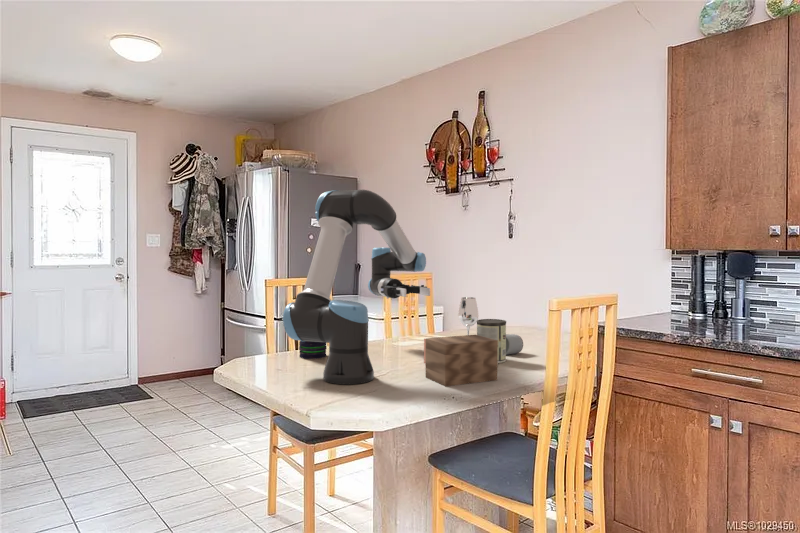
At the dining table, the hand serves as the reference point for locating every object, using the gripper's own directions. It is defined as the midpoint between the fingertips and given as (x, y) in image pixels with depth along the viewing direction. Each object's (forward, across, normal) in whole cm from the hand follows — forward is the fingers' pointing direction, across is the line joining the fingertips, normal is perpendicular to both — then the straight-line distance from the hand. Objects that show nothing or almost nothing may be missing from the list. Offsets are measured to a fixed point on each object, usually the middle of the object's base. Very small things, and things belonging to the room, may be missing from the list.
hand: (417, 292), depth 193 cm
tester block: (+29, 0, -24) cm, 38 cm away
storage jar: (-23, +31, -24) cm, 45 cm away
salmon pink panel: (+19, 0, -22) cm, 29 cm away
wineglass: (-13, -29, -24) cm, 40 cm away
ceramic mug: (+2, -37, -24) cm, 44 cm away
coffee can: (+10, -24, -24) cm, 36 cm away
